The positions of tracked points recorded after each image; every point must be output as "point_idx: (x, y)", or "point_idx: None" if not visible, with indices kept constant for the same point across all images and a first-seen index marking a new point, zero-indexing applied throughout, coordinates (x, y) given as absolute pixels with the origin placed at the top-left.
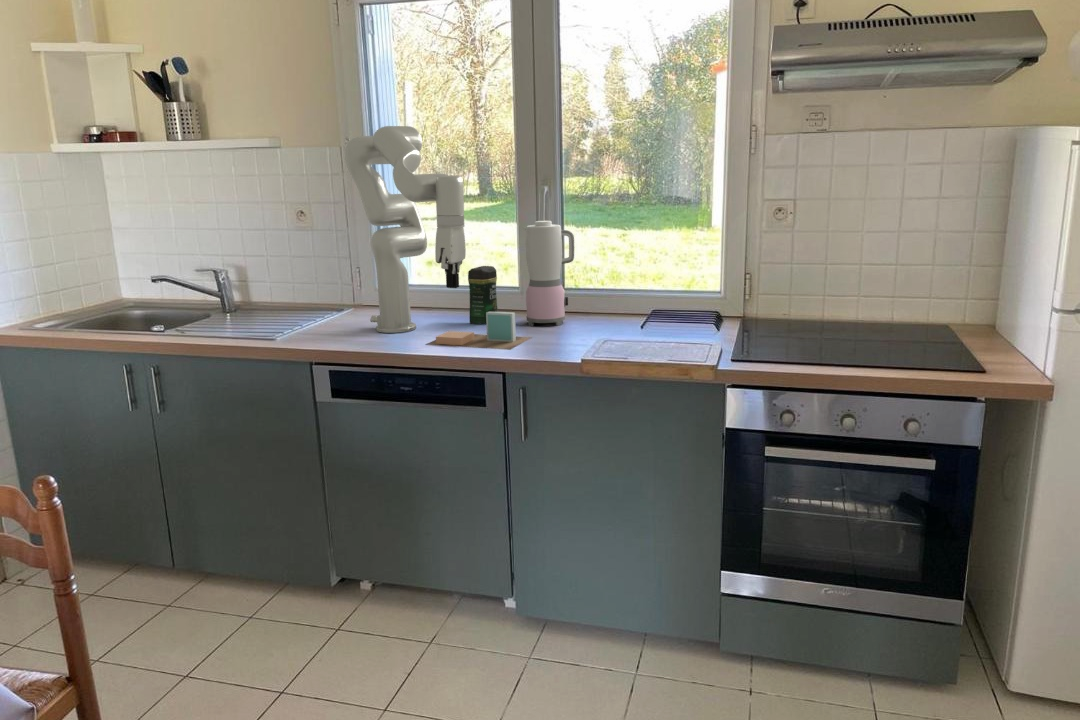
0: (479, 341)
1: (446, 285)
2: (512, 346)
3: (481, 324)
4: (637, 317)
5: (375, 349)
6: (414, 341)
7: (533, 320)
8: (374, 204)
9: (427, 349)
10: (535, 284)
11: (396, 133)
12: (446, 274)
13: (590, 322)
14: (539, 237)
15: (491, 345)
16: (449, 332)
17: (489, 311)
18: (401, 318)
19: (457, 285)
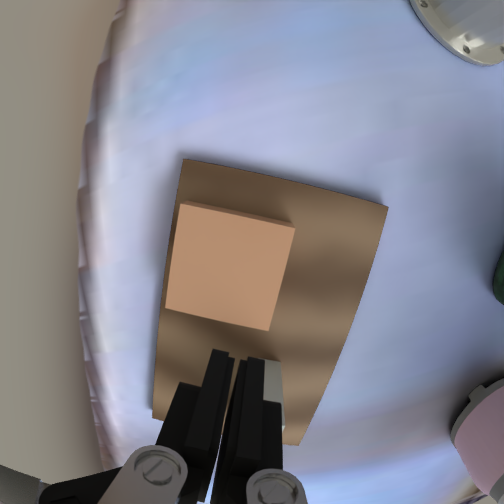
0: (241, 338)
1: (211, 356)
2: None
3: (495, 278)
4: (459, 498)
5: (164, 8)
6: (294, 85)
7: (469, 408)
8: None
9: (164, 174)
10: None
11: None
12: (186, 440)
13: (454, 468)
14: None
15: (188, 377)
16: (266, 237)
17: (283, 427)
18: (458, 10)
19: (223, 429)
